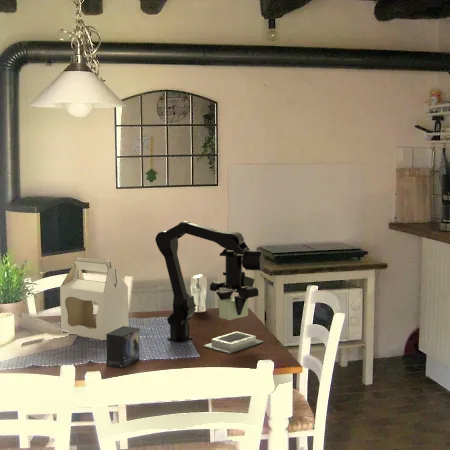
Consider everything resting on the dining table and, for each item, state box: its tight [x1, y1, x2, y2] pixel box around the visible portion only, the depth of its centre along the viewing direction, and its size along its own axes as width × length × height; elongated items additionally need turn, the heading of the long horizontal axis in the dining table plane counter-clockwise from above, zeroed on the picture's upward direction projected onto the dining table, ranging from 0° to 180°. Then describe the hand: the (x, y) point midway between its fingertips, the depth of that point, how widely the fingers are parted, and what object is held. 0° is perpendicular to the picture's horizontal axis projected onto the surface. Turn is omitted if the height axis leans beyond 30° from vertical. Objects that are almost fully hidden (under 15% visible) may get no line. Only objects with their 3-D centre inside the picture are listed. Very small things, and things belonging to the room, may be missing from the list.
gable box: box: [59, 256, 130, 341], centre depth 232 cm, size 22×13×28 cm, turn 59°
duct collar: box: [202, 330, 264, 355], centre depth 217 cm, size 18×12×2 cm, turn 137°
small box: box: [105, 326, 140, 369], centre depth 197 cm, size 11×6×10 cm, turn 158°
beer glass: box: [190, 274, 208, 313], centre depth 266 cm, size 7×7×15 cm
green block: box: [218, 296, 249, 321], centre depth 216 cm, size 5×9×6 cm, turn 133°
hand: (233, 313), depth 216 cm, fingers closed on green block, 5 cm apart
